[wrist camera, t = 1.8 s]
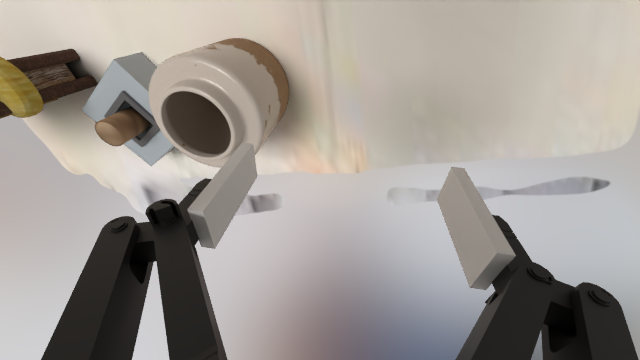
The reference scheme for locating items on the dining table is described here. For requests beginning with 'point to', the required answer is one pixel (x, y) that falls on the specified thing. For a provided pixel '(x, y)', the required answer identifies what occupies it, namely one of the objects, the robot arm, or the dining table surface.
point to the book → (37, 82)
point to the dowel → (121, 126)
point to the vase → (218, 99)
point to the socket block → (130, 103)
